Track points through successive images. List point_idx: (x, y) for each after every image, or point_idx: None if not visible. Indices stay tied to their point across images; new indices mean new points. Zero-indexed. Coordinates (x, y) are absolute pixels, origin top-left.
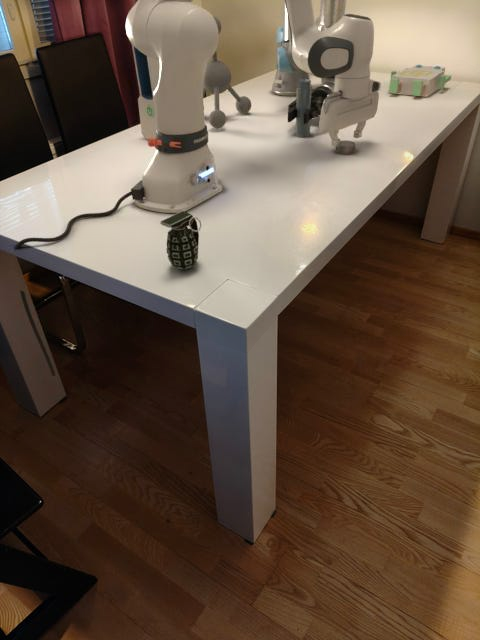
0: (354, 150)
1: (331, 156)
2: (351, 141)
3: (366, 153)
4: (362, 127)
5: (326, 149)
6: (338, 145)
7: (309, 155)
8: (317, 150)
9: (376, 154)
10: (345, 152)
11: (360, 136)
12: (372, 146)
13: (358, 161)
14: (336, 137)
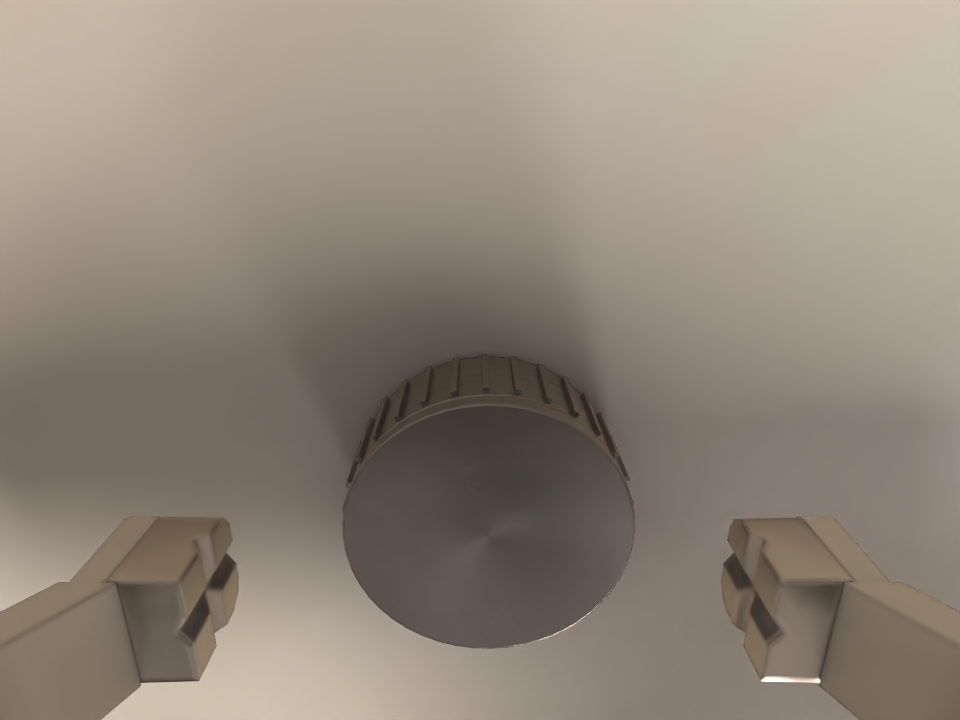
0: (405, 383)
1: (762, 474)
2: (357, 527)
3: (347, 191)
4: (30, 632)
5: (583, 653)
6: (627, 558)
7: None
8: (676, 697)
9: (264, 28)
10: (589, 408)
11: (157, 519)
12: (47, 316)
13: (728, 51)
14: (955, 623)
